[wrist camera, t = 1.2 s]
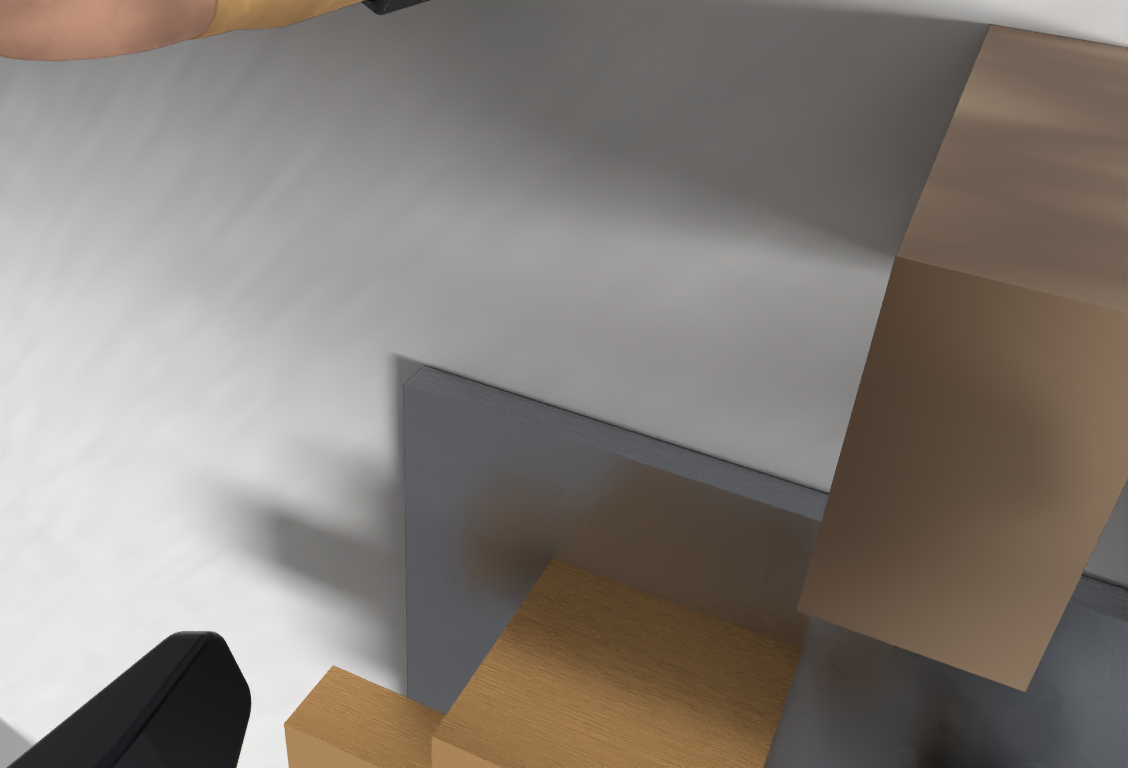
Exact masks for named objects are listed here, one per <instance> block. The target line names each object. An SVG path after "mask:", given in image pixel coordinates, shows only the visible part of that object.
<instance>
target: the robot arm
mask: <svg viewBox="0 0 1128 768" xmlns="http://www.w3.org/2000/svg"><path fill="white" fill-rule="evenodd" d="M250 712H251V694H250V689H249V686H248V684H247V682H246V680H245V678H244V676H243V674H242V672H241V670H240V668H239V666H238V665H237V663H236V661H235V659H234V657H233V655H232V653H231V651H230V649H229V647H228V645H227V643H226V641H225V640H224V638H223V637H222V636H220V635H219V634H218V633H216V632H212V631H182V632H177V633H174V634H172V635H170V636H169V637H167V638H166V639H164V640H163V641H162V642H161V643H160V644H158V645H157V646H156V647H155V648H153V649H152V650H151V651H150V652H148V653H147V654H146V655H145V656H143V657H142V658H141V659H140V660H139V661H137V662H136V663H135V664H134V665H132V666H131V667H130V668H129V669H127V670H126V671H125V672H124V673H123V674H121V675H120V676H119V677H118V678H116V679H115V680H114V681H113V682H111V683H110V684H109V685H108V686H107V687H105V688H104V689H103V690H102V691H100V692H99V693H98V694H97V695H95V696H94V697H93V698H92V699H90V700H89V701H88V702H87V703H86V704H84V705H83V706H82V707H81V708H79V709H78V710H77V711H76V712H74V713H73V714H72V715H71V716H70V717H68V718H67V719H66V720H65V721H63V722H62V723H61V724H60V725H58V726H57V727H56V728H55V729H54V730H52V731H51V732H50V733H49V734H47V735H46V736H45V737H44V738H42V739H41V740H40V741H39V742H37V743H36V744H35V745H34V746H33V747H31V748H30V749H29V750H28V751H26V752H25V753H24V754H23V755H22V756H20V757H19V758H18V759H17V760H15V761H14V762H13V763H12V764H10V765H9V766H8V767H7V768H236V767H237V763H238V759H239V756H240V752H241V748H242V744H243V740H244V736H245V732H246V729H247V725H248V721H249V717H250Z"/></svg>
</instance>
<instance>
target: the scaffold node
mask: <svg viewBox="0 0 1128 768" xmlns="http://www.w3.org/2000/svg"><path fill="white" fill-rule="evenodd" d="M403 393H404V468H405V543H406V618H407V693H408V698H407V697H405V696H402V695H400V694H398V693H396V692H393V691H391V690H389V689H386V688H384V687H382V686H379V685H377V684H375V683H372V682H370V681H368V680H366V679H363V678H361V677H359V676H356V675H354V674H352V673H349V672H347V671H345V670H342V669H340V668H338V667H336V666H332V667H331V668H330V670H329V671H328V672H327V673H326V674H325V676H324V677H323V678H322V679H321V680H320V681H319V683H318V684H317V685H316V686H315V687H314V689H313V690H312V691H311V692H310V693H309V695H308V696H307V697H306V698H305V699H304V701H303V702H302V703H301V704H300V705H299V706H298V708H297V709H296V710H295V711H294V712H293V714H292V715H291V716H290V717H289V718H288V720H287V721H286V722H285V723H284V728H285V737H286V745H287V754H288V763H289V768H1128V590H1126V589H1123V588H1120V587H1117V586H1114V585H1110V584H1107V583H1104V582H1101V581H1098V580H1095V579H1092V578H1088V577H1085V576H1082V575H1081V577H1080V579H1079V581H1078V583H1077V586H1076V588H1075V590H1074V592H1073V594H1072V596H1071V598H1070V600H1069V602H1068V604H1067V606H1066V608H1065V610H1064V613H1063V615H1062V617H1061V619H1060V621H1059V623H1058V625H1057V627H1056V629H1055V631H1054V633H1053V635H1052V637H1051V640H1050V642H1049V644H1048V646H1047V648H1046V650H1045V652H1044V654H1043V656H1042V658H1041V660H1040V662H1039V664H1038V667H1037V669H1036V671H1035V673H1034V675H1033V677H1032V679H1031V681H1030V683H1029V685H1028V687H1027V689H1026V691H1025V692H1024V691H1021V690H1018V689H1015V688H1013V687H1010V686H1007V685H1004V684H1001V683H999V682H996V681H993V680H990V679H987V678H985V677H982V676H979V675H976V674H973V673H971V672H968V671H965V670H962V669H959V668H956V667H954V666H951V665H948V664H945V663H942V662H940V661H937V660H934V659H931V658H928V657H926V656H923V655H920V654H917V653H914V652H912V651H909V650H906V649H903V648H900V647H897V646H895V645H892V644H889V643H886V642H883V641H881V640H878V639H875V638H872V637H869V636H867V635H864V634H861V633H858V632H855V631H853V630H850V629H847V628H844V627H841V626H839V625H836V624H833V623H830V622H827V621H824V620H822V619H819V618H816V617H813V616H810V615H808V614H805V613H802V612H799V611H796V610H797V607H798V603H799V600H800V596H801V592H802V589H803V585H804V582H805V578H806V575H807V571H808V567H809V564H810V560H811V557H812V553H813V550H814V546H815V542H816V539H817V535H818V532H819V528H820V525H821V521H822V517H823V514H824V510H825V507H826V503H827V500H828V496H829V495H828V494H825V493H822V492H819V491H816V490H813V489H809V488H806V487H803V486H800V485H797V484H794V483H791V482H788V481H784V480H781V479H778V478H775V477H772V476H769V475H766V474H762V473H759V472H756V471H753V470H750V469H747V468H744V467H740V466H737V465H734V464H731V463H728V462H725V461H722V460H719V459H715V458H712V457H709V456H706V455H703V454H700V453H697V452H693V451H690V450H687V449H684V448H681V447H678V446H675V445H672V444H668V443H665V442H662V441H659V440H656V439H653V438H650V437H646V436H643V435H640V434H637V433H634V432H631V431H628V430H624V429H621V428H618V427H615V426H612V425H609V424H606V423H603V422H599V421H596V420H593V419H590V418H587V417H584V416H581V415H577V414H574V413H571V412H568V411H565V410H562V409H559V408H556V407H552V406H549V405H546V404H543V403H540V402H537V401H534V400H530V399H527V398H524V397H521V396H518V395H515V394H512V393H509V392H505V391H502V390H499V389H496V388H493V387H490V386H487V385H483V384H480V383H477V382H474V381H471V380H468V379H465V378H461V377H458V376H455V375H452V374H449V373H446V372H443V371H440V370H436V369H433V368H430V367H427V366H423V367H422V368H421V369H420V370H419V371H418V372H417V373H416V374H415V375H414V376H412V377H411V378H410V379H409V380H408V381H407V382H406V383H405V384H404V385H403Z"/></svg>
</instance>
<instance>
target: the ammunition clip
mask: <svg viewBox="0 0 1128 768" xmlns="http://www.w3.org/2000/svg"><path fill="white" fill-rule="evenodd" d="M426 1H429V0H0V56H2V57H6V58H13V59H21V60H39V61H67V60H83V59H96V58H107V57H113V56H119V55H126V54H132V53H138V52H143V51H149V50H153V49H157V48H160V47H164V46H167V45H171V44H174V43H177V42H181V41H184V40H191V39H201V38H205V37H209V36H213V35H217V34H221V33H225V32H229V31H233V30H239V29H266V28H278V27H284V26H288V25H292V24H295V23H298V22H301V21H304V20H307V19H310V18H313V17H316V16H319V15H322V14H325V13H328V12H331V11H334V10H337V9H340V8H343V7H346V6H349V5H352V4H355V3H358V2H362V3H363V4H364V5H365V6H367V7H368V8H369V9H371V10H372V11H373V12H374V13H376V14H378V15H383V14H386V13H390V12H393V11H396V10H400V9H403V8H406V7H409V6H413V5H416V4H419V3H423V2H426Z"/></svg>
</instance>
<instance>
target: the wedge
mask: <svg viewBox="0 0 1128 768" xmlns="http://www.w3.org/2000/svg"><path fill="white" fill-rule="evenodd" d="M1127 480H1128V48H1125V47H1120V46H1114V45H1108V44H1102V43H1096V42H1090V41H1085V40H1079V39H1073V38H1067V37H1061V36H1055V35H1050V34H1044V33H1038V32H1032V31H1026V30H1020V29H1015V28H1009V27H1003V26H997V25H991V24H990V27H989V29H988V32H987V34H986V37H985V39H984V41H983V44H982V46H981V49H980V51H979V54H978V56H977V59H976V61H975V63H974V66H973V68H972V71H971V73H970V76H969V78H968V81H967V83H966V85H965V88H964V90H963V93H962V95H961V98H960V100H959V103H958V105H957V107H956V110H955V112H954V115H953V117H952V120H951V122H950V125H949V127H948V129H947V132H946V134H945V137H944V139H943V142H942V144H941V147H940V149H939V151H938V154H937V156H936V159H935V161H934V164H933V166H932V169H931V171H930V173H929V176H928V178H927V181H926V183H925V186H924V188H923V191H922V193H921V195H920V198H919V200H918V203H917V205H916V208H915V210H914V213H913V215H912V217H911V220H910V222H909V225H908V227H907V230H906V232H905V235H904V237H903V239H902V242H901V244H900V247H899V249H898V252H897V254H896V257H895V260H894V264H893V267H892V271H891V275H890V278H889V282H888V285H887V289H886V292H885V296H884V300H883V303H882V307H881V310H880V314H879V317H878V321H877V325H876V328H875V332H874V335H873V339H872V342H871V346H870V350H869V353H868V357H867V360H866V364H865V367H864V371H863V375H862V378H861V382H860V385H859V389H858V392H857V396H856V400H855V403H854V407H853V410H852V414H851V417H850V421H849V425H848V428H847V432H846V435H845V439H844V442H843V446H842V450H841V453H840V457H839V460H838V464H837V467H836V471H835V475H834V478H833V482H832V485H831V489H830V492H829V496H828V500H827V503H826V507H825V510H824V514H823V517H822V521H821V525H820V528H819V532H818V535H817V539H816V542H815V546H814V550H813V553H812V557H811V560H810V564H809V567H808V571H807V575H806V578H805V582H804V585H803V589H802V592H801V596H800V600H799V603H798V607H797V610H796V611H799V612H802V613H805V614H808V615H810V616H813V617H816V618H819V619H822V620H824V621H827V622H830V623H833V624H836V625H839V626H841V627H844V628H847V629H850V630H853V631H855V632H858V633H861V634H864V635H867V636H869V637H872V638H875V639H878V640H881V641H883V642H886V643H889V644H892V645H895V646H897V647H900V648H903V649H906V650H909V651H912V652H914V653H917V654H920V655H923V656H926V657H928V658H931V659H934V660H937V661H940V662H942V663H945V664H948V665H951V666H954V667H956V668H959V669H962V670H965V671H968V672H971V673H973V674H976V675H979V676H982V677H985V678H987V679H990V680H993V681H996V682H999V683H1001V684H1004V685H1007V686H1010V687H1013V688H1015V689H1018V690H1021V691H1024V692H1025V691H1026V689H1027V687H1028V685H1029V683H1030V681H1031V679H1032V677H1033V675H1034V673H1035V671H1036V669H1037V667H1038V664H1039V662H1040V660H1041V658H1042V656H1043V654H1044V652H1045V650H1046V648H1047V646H1048V644H1049V642H1050V640H1051V637H1052V635H1053V633H1054V631H1055V629H1056V627H1057V625H1058V623H1059V621H1060V619H1061V617H1062V615H1063V613H1064V610H1065V608H1066V606H1067V604H1068V602H1069V600H1070V598H1071V596H1072V594H1073V592H1074V590H1075V588H1076V586H1077V583H1078V581H1079V579H1080V577H1081V575H1082V573H1083V571H1084V569H1085V567H1086V565H1087V563H1088V561H1089V559H1090V556H1091V554H1092V552H1093V550H1094V548H1095V546H1096V544H1097V542H1098V540H1099V538H1100V536H1101V534H1102V532H1103V529H1104V527H1105V525H1106V523H1107V521H1108V519H1109V517H1110V515H1111V513H1112V511H1113V509H1114V507H1115V505H1116V502H1117V500H1118V498H1119V496H1120V494H1121V492H1122V490H1123V488H1124V486H1125V484H1126V482H1127Z"/></svg>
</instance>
